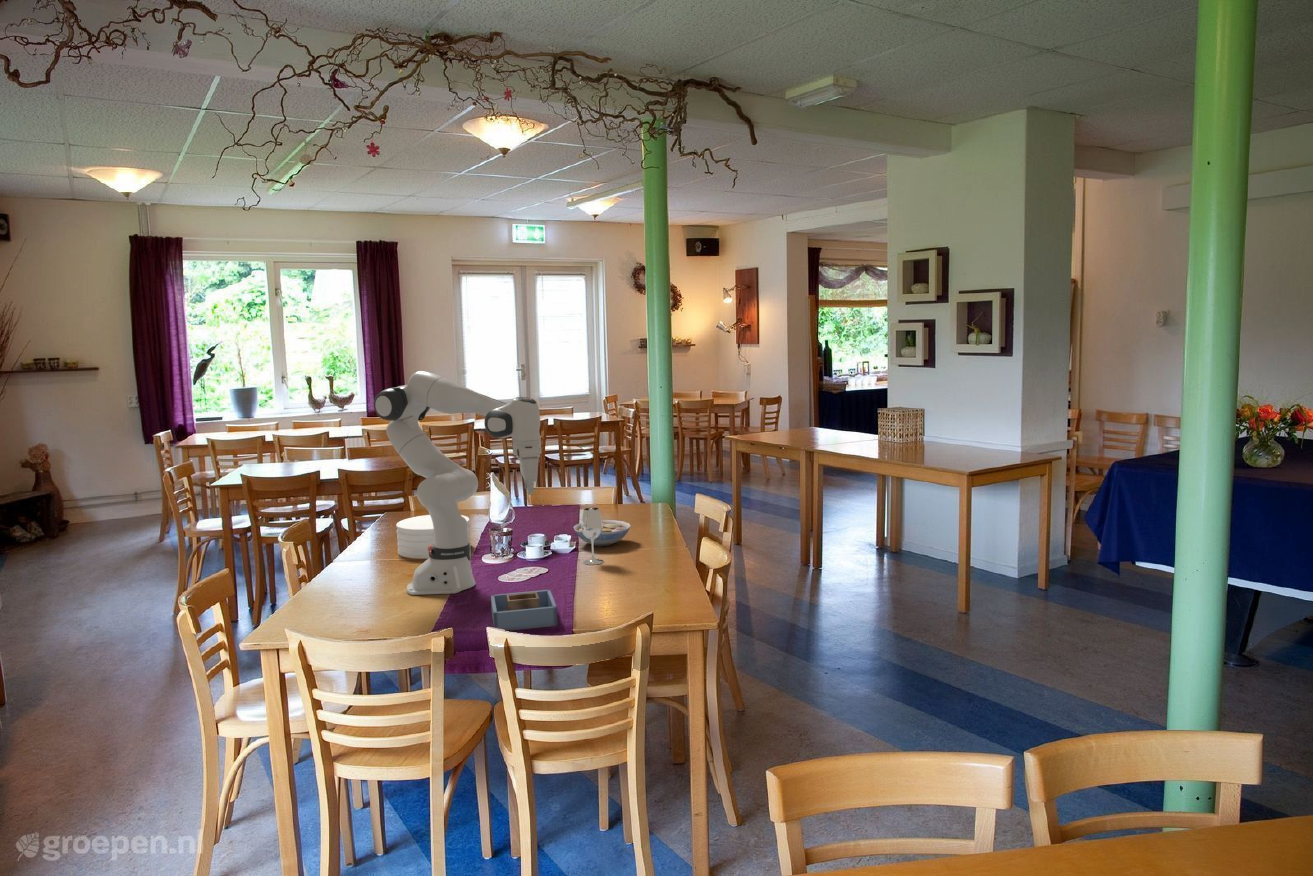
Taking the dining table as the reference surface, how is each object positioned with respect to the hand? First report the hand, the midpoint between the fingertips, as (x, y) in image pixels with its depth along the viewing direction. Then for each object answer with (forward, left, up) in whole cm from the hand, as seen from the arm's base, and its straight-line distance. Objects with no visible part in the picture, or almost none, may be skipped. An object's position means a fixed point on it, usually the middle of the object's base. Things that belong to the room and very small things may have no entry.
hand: (529, 491), depth 276 cm
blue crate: (-5, -22, -34) cm, 41 cm away
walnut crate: (-5, -22, -33) cm, 40 cm away
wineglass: (+25, +35, -34) cm, 55 cm away
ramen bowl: (+33, +61, -34) cm, 77 cm away
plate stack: (-32, +75, -34) cm, 89 cm away
